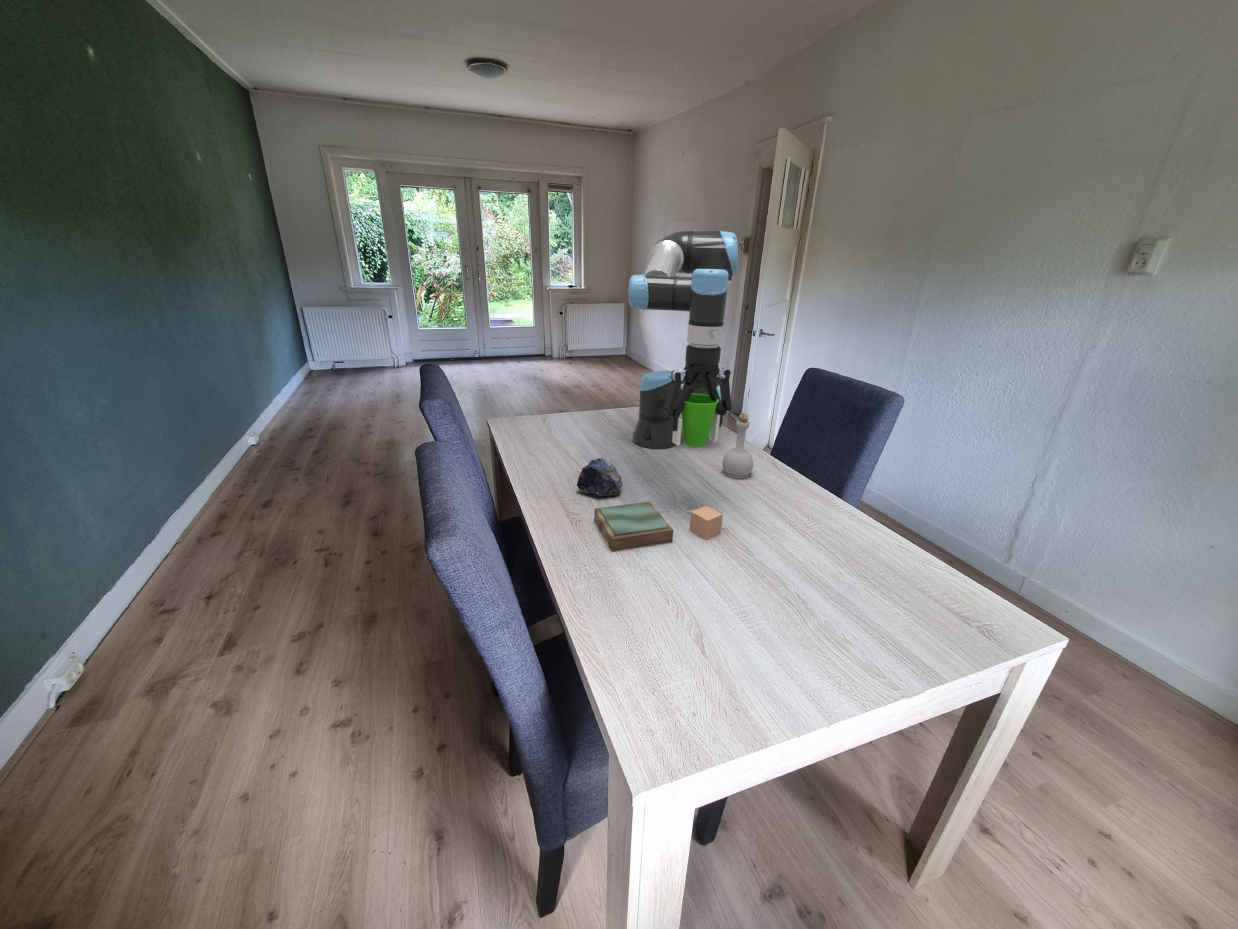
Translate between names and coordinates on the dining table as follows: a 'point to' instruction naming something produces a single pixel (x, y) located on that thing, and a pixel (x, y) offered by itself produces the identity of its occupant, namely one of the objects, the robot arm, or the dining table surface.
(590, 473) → the rock
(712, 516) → the terracotta block
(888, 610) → the dining table surface
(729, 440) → the dining table surface
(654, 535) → the tray
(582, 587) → the dining table surface
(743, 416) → the potion bottle
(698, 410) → the cup
